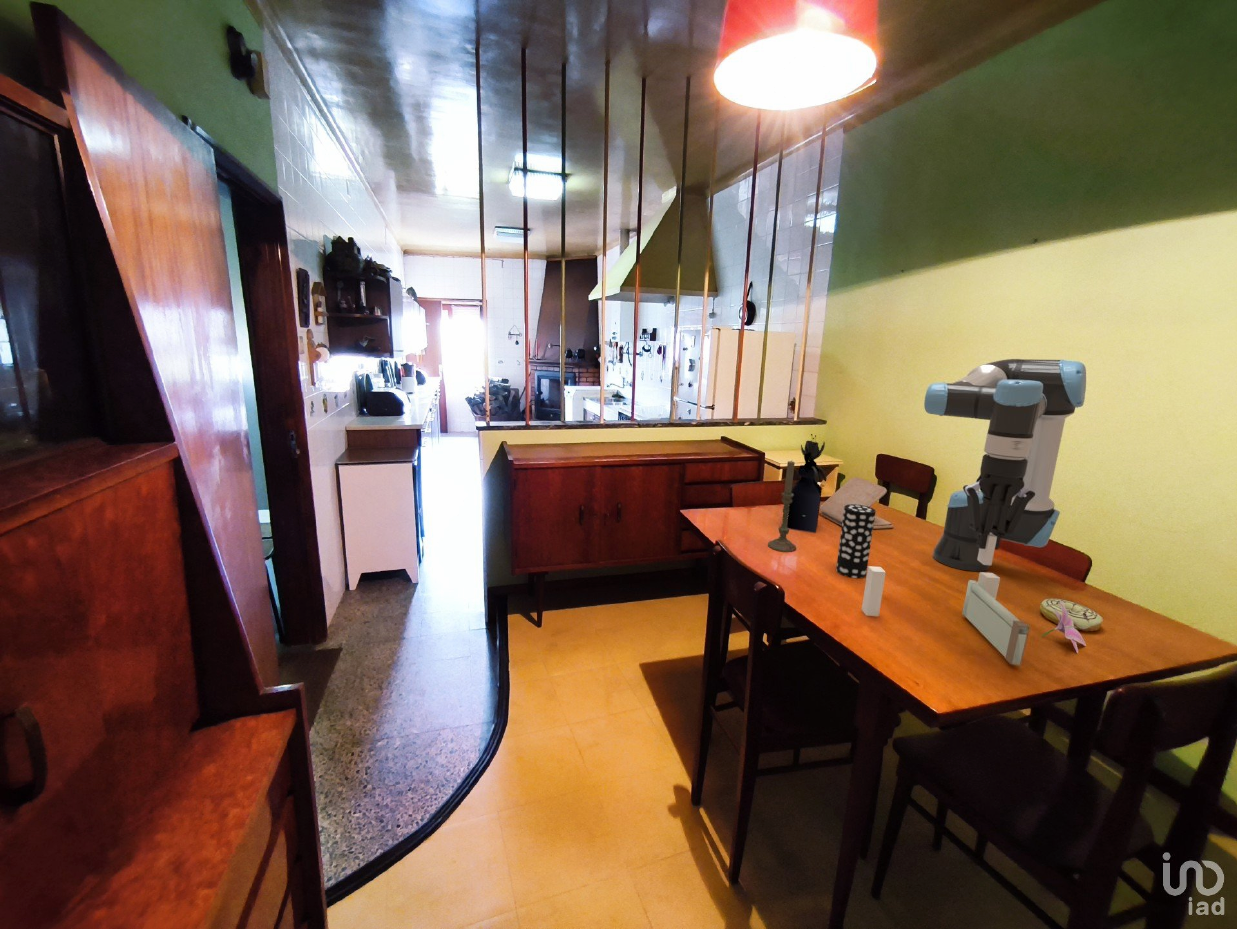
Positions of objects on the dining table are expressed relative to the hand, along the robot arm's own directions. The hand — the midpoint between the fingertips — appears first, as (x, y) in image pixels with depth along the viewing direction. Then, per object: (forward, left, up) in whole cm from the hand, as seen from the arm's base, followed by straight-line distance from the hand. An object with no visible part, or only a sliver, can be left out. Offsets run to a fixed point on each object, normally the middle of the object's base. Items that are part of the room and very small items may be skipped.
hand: (984, 562), depth 111 cm
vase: (+14, -79, -21) cm, 83 cm away
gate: (-7, -4, -20) cm, 21 cm away
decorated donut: (-34, -16, -21) cm, 43 cm away
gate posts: (+2, -14, -21) cm, 25 cm away
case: (-9, -89, -21) cm, 92 cm away
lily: (-24, -5, -21) cm, 32 cm away
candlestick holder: (+27, -57, -21) cm, 66 cm away
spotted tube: (+11, -39, -21) cm, 45 cm away
